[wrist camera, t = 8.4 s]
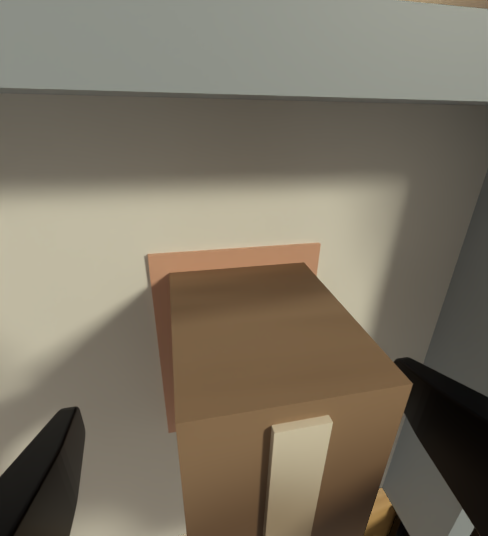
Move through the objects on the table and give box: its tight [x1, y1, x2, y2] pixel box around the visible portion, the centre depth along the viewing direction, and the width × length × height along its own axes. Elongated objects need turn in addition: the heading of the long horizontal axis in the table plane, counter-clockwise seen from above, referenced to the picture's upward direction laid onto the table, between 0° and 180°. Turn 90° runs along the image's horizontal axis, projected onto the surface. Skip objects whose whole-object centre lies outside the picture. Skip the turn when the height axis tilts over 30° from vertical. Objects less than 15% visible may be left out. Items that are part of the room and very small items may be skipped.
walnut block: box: [169, 262, 413, 536], centre depth 9 cm, size 6×4×5 cm, turn 179°
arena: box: [0, 0, 488, 536], centre depth 10 cm, size 19×23×5 cm
